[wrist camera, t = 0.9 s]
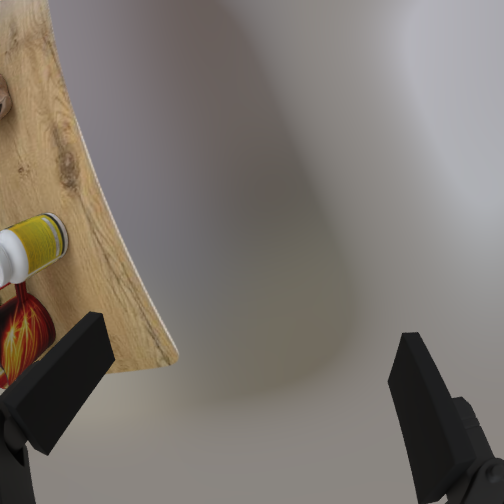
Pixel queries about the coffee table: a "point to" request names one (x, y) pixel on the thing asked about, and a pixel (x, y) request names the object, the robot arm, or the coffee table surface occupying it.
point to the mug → (22, 333)
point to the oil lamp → (4, 98)
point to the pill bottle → (31, 247)
